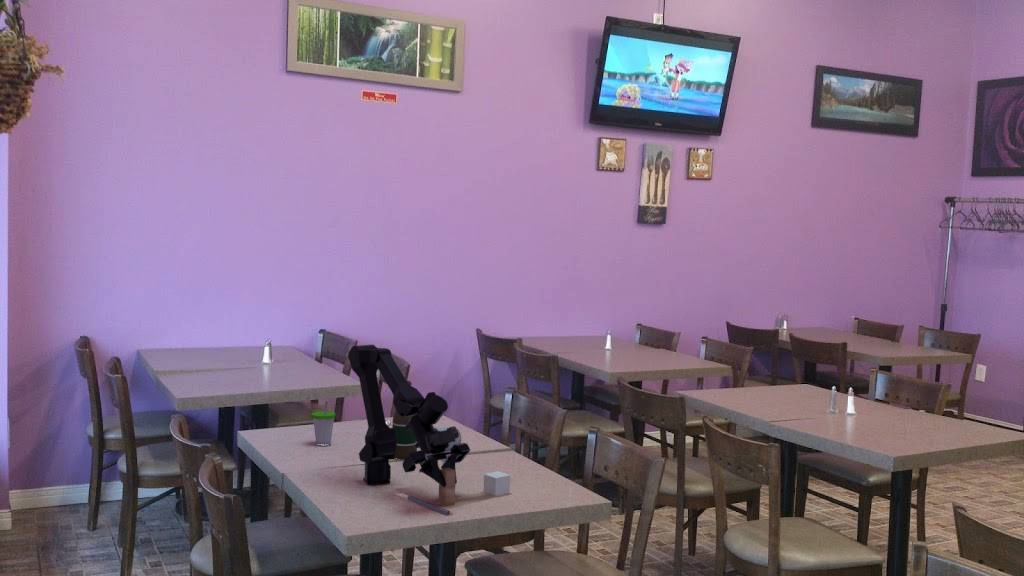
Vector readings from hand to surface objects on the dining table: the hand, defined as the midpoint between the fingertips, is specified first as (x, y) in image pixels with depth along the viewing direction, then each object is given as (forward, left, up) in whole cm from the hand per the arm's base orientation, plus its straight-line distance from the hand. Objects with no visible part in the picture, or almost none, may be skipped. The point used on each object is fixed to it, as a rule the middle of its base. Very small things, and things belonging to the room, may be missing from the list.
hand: (450, 484), depth 246 cm
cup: (-18, +79, -7) cm, 81 cm away
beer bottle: (+3, +56, -7) cm, 57 cm away
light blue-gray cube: (+16, +7, -5) cm, 18 cm away
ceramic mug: (+18, +63, -7) cm, 66 cm away
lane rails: (+7, +8, -7) cm, 12 cm away
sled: (+8, +4, -6) cm, 11 cm away
